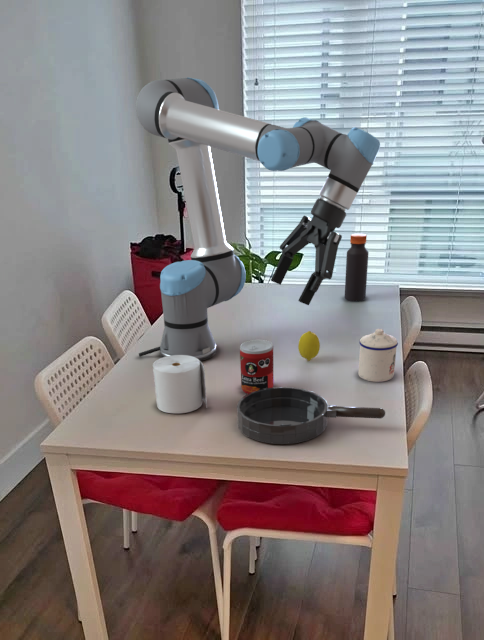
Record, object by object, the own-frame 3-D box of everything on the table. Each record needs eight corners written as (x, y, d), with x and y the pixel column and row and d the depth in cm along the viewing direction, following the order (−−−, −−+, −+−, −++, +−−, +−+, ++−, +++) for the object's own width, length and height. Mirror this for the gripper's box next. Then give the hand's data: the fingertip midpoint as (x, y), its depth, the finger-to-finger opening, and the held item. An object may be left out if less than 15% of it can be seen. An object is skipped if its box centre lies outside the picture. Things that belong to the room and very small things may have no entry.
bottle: (344, 301, 218) (347, 237, 207) (344, 295, 223) (347, 232, 213) (365, 302, 217) (369, 237, 206) (365, 295, 222) (369, 232, 212)
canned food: (236, 393, 160) (234, 349, 154) (248, 380, 166) (247, 337, 160) (266, 397, 157) (266, 353, 151) (277, 384, 163) (277, 341, 158)
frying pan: (230, 443, 139) (229, 423, 136) (245, 403, 155) (244, 385, 152) (324, 447, 136) (325, 428, 133) (328, 406, 152) (329, 388, 149)
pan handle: (324, 418, 141) (324, 409, 140) (325, 412, 144) (325, 403, 143) (385, 421, 139) (385, 411, 138) (384, 415, 142) (385, 405, 141)
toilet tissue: (159, 394, 160) (155, 355, 155) (210, 393, 160) (207, 354, 155) (153, 414, 151) (149, 373, 146) (206, 413, 151) (204, 372, 146)
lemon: (318, 365, 173) (319, 335, 169) (296, 364, 174) (297, 334, 170) (320, 357, 178) (321, 327, 173) (299, 356, 179) (299, 327, 174)
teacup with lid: (397, 382, 162) (402, 335, 156) (359, 383, 162) (362, 336, 156) (389, 363, 172) (393, 319, 166) (353, 364, 173) (356, 320, 166)
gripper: (376, 226, 143) (328, 317, 151) (316, 196, 161) (276, 279, 169) (351, 212, 138) (303, 307, 146) (293, 184, 156) (253, 269, 164)
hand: (289, 292), depth 157 cm, fingers open, 13 cm apart
